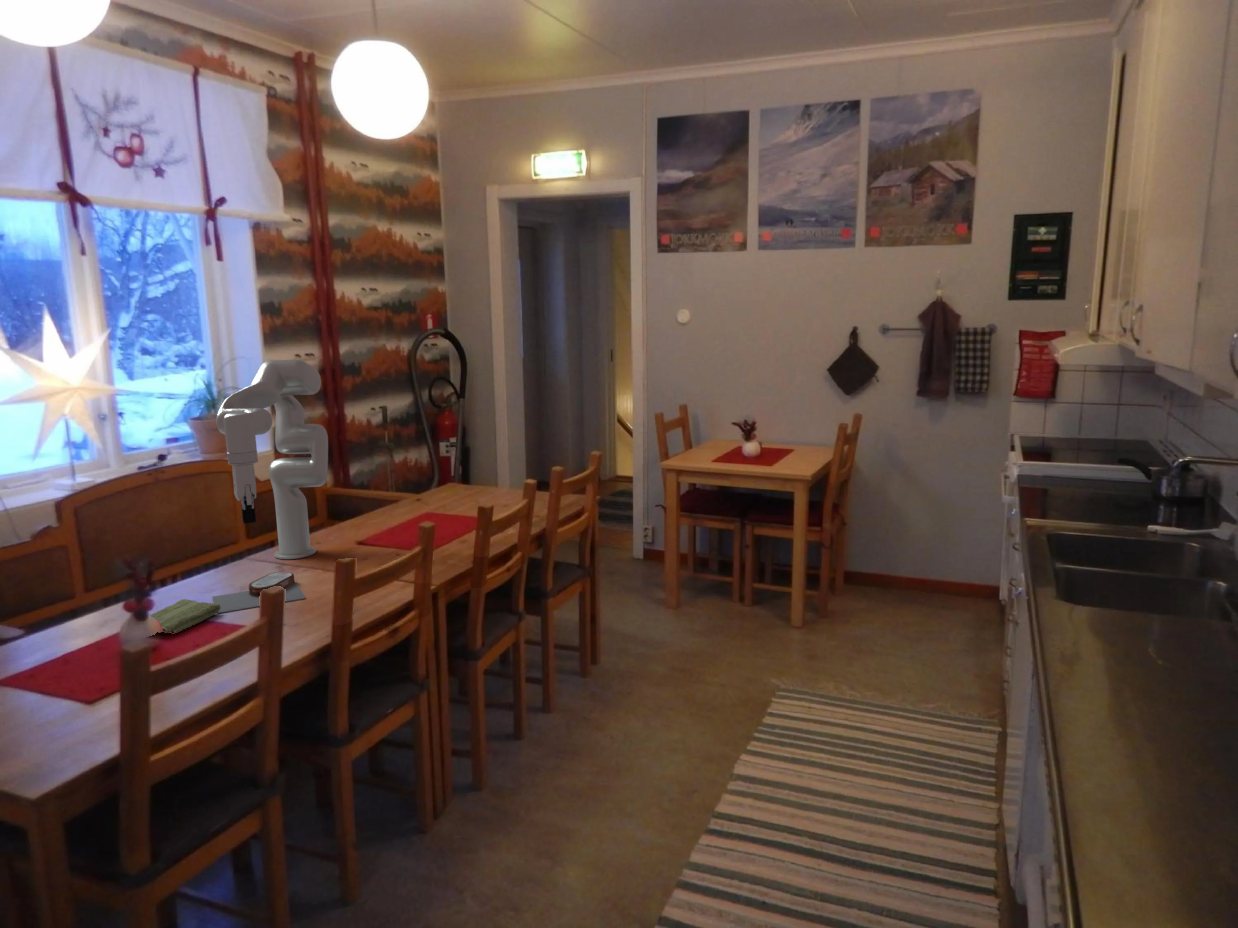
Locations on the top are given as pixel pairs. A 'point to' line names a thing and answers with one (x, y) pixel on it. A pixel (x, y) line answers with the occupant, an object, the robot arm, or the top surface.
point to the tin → (271, 582)
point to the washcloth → (184, 614)
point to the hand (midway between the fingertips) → (249, 522)
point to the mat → (251, 599)
